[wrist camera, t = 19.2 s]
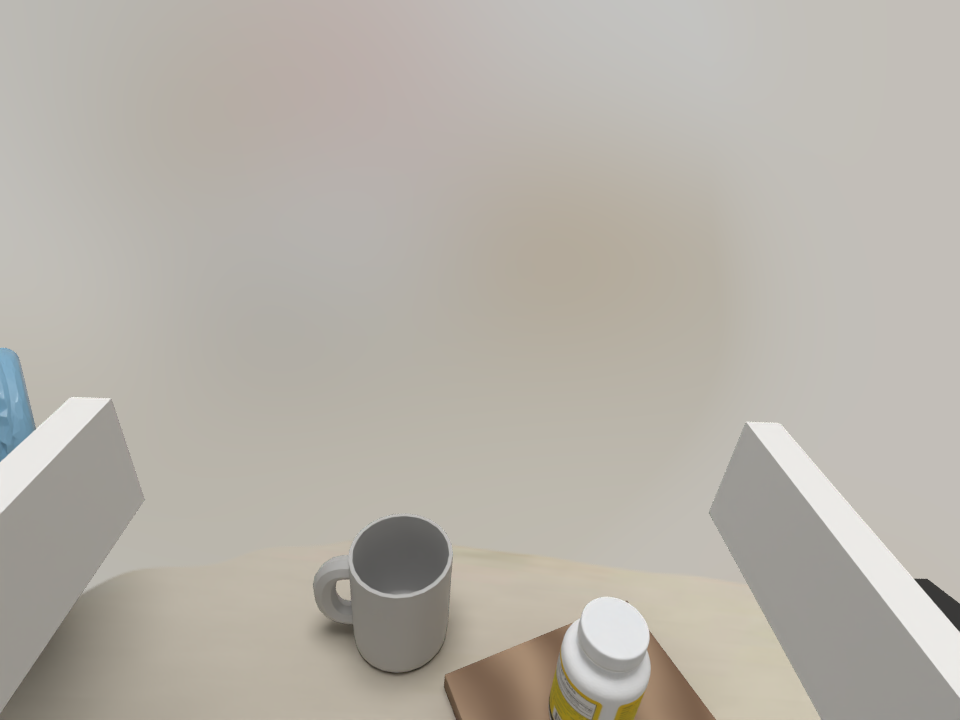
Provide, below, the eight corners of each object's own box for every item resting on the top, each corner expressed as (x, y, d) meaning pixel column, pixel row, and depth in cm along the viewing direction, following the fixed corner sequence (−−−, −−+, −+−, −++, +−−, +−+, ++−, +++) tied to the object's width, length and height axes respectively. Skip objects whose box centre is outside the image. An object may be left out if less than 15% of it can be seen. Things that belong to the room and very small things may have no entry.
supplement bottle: (622, 680, 38) (655, 593, 33) (632, 768, 34) (672, 681, 29) (546, 669, 39) (568, 580, 34) (546, 753, 34) (571, 665, 29)
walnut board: (523, 897, 29) (526, 887, 28) (444, 686, 38) (444, 674, 38) (734, 765, 35) (742, 754, 35) (622, 612, 45) (626, 600, 44)
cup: (445, 677, 39) (451, 600, 34) (306, 674, 38) (294, 595, 34) (448, 590, 45) (453, 515, 41) (328, 587, 45) (320, 510, 40)
